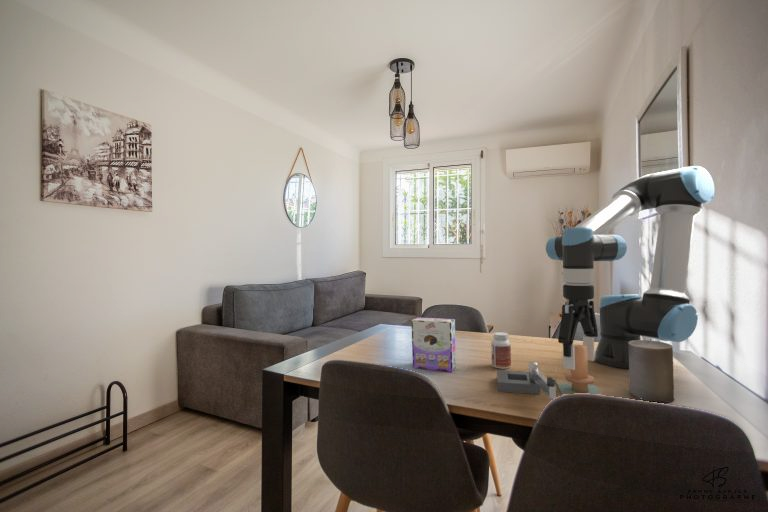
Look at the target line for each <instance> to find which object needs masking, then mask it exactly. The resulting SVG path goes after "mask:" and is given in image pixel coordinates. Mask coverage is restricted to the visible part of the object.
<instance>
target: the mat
mask: <svg viewBox="0 0 768 512" xmlns="http://www.w3.org/2000/svg"><path fill="white" fill-rule="evenodd" d="M556 386H557V387H558V390H559V392H560V393H561V395H562V394H574V393H579V392H575V391H573V390H572V384H571V382H570V383H566V382H556ZM586 393H590V394H602V392H601V391H600V389H599V388H598V387H597V386H596V384H588V392H586Z"/></svg>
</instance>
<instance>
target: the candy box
mask: <svg viewBox="0 0 768 512" xmlns="http://www.w3.org/2000/svg"><path fill="white" fill-rule="evenodd" d="M410 323H411V347H412V351H411V352H412V368H413V369H421V370H431V371H437V372H438V371H439V372H440V371H441V372H446V373H447V372H451V373H452V372H453V371H454V370H455V369H457V359H456V357H457V354H456V352H457V350H456V349H457V347H456V319H454V318H434V317H433V318H432V317H420V316H419V317H415V318H413V319H411V321H410Z"/></svg>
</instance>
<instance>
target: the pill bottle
mask: <svg viewBox="0 0 768 512" xmlns="http://www.w3.org/2000/svg"><path fill="white" fill-rule="evenodd" d="M490 344H491V346H490V347H491V366H492V367H493V368H495V369H498V370H506V369H510V368H511V367H512V358H511V357H512V356H511V355H512V352H511V351H512V350H511V349H512V348H511V345H512V344H511V341H510V340H509V334H508V332H502V331H501V332H500V331H499V332H497V331H496V332H493V339H492V340H491V343H490Z"/></svg>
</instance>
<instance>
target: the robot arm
mask: <svg viewBox="0 0 768 512" xmlns="http://www.w3.org/2000/svg"><path fill="white" fill-rule="evenodd" d="M714 196H715V184H714V180H713V177H712V176H711V174H710V173H709V172H708V170H707V169H706V168H704V167H702V166H699V165H692V166H683V167H681V168H675V169H669V170H665V171H661V172H659V171H658V172H655V173H649V174H646V175H643V176H640V177H639V178H636V179H635V180H633V181H631V182H629V183H628V184H626V185H624V186H623V187H621V188H620V189H619V190H617V191H616V192H615V193H614V194H613V196H612V198H611V199H610V200H609V201H608V202H607V203H605V204H604V205H603V206H601V207H599V209H597V210H595V212H593V213H591V214H590V215H589V216H588V217H586V218H585V219H584V220H582V221H581V222H580V223H578V224H577V225H576V226H574V227H566V228H564V229H563V231H562V235H561V236H553V237H551V238H550V239H548V240H547V242H546V244H545V252H546V255H547V256H548V257H549V259H551V260H555V261H561V262H562V271H561V274H562V282H563V283H564V284H563V285H562V297H563V298H564V299H566V300H568V303H567V305H566V304H562V306H561V319H560V326H559V332H558V337H557V338H558V339H557V341H558V344H562V363H563V364H562V365H563V366H562V368H563V369H568V370H570V371H571V370H575V345H576V344H574V339H575V338H576V332H577V329H578V325H579V323H580V325H581V329H582V331H583V333H584V335H582V345H584V346H587V361H592V362H593V361H596V362H597V363H600V364H602V365H606V366H610V367H615V368H622V369H629V344H628V343H629V341H633V340H641V337H644V338H650V339H655V340H660V341H662V342H674V343H681V342H685V341H686V340H688V339H689V338H690V337H691V336H692V335H693V334H694V332H695V329H696V328H697V324H698V316H699V315H698V314H697V309H696V307H694V305H692V304H690V301H691V300H690V298H689V296H688V295H687V294H686V293H685V289H686V284H687V283H686V281H687V274H688V267H689V261H690V255H691V254H690V253H691V245H692V239H693V231H694V224H695V217H696V216H697V215H699V214H700V213H702V211H703V206H704V205H705V204H708V203H710V202H711V201H712V200H713V198H714ZM703 204H704V205H703ZM651 209H654V210H655V212H656V213H657V214H658V215H659V222H658V229H657V234H656V235H657V236H656V242H655V250H654V258H653V264H652V270H651V271H652V272H651V278H650V286H649V289H647V290H646V291H644V292H643V293H642V299H641V296H640V294H638V293H624V294H609V295H603V296H601V298H600V300H599V329H600V330H598V325H597V320H596V319H597V318H596V314H595V303H594V300H593V299H595V298H594V297H595V286H594V285H593V284H594V282H595V268H594V262H614V261H619V260H621V259H623V257H624V256H625V255H626V253H627V249H628V244H627V242H626V240H625V239H624V237H622V236H620V235H618V234H612V233H609V234H607V233H608V232H609V231H611V230H612V229H614V228H615V227H616V226H617V225H619V224H620V223H622V222H623V221H624V220H625V219H626V218H628V217H632V216H635V215H637V214H638V213H640V212H641V211H645V210H651ZM598 331H600V335H599V333H598ZM598 336H599V340H598V343H597V346H596V348H595V338H597V337H598Z"/></svg>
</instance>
